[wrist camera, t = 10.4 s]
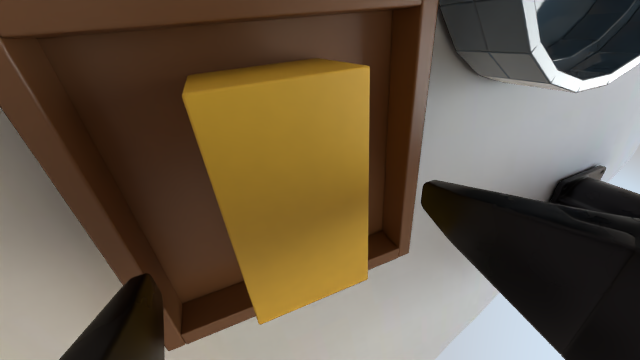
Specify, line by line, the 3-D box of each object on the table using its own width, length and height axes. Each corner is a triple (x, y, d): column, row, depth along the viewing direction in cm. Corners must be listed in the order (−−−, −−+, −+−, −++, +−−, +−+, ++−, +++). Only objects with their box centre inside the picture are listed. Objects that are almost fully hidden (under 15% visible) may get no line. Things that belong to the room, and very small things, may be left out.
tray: (401, -12, 11) (442, -23, 9) (387, 231, 18) (409, 253, 16) (-7, 8, 7) (-78, -3, 5) (172, 310, 14) (167, 352, 12)
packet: (318, 57, 11) (370, 65, 7) (331, 228, 15) (368, 279, 12) (186, 74, 9) (180, 94, 6) (244, 258, 14) (259, 325, 10)
